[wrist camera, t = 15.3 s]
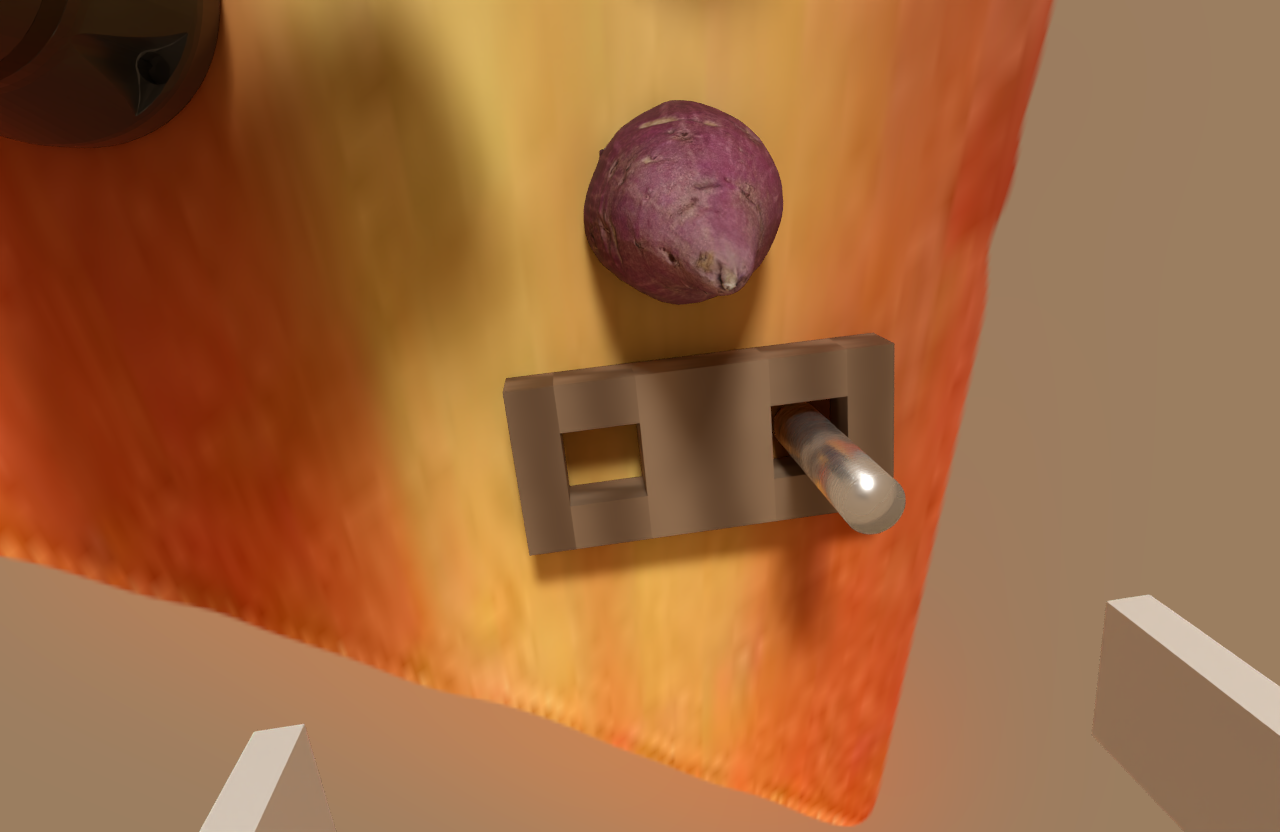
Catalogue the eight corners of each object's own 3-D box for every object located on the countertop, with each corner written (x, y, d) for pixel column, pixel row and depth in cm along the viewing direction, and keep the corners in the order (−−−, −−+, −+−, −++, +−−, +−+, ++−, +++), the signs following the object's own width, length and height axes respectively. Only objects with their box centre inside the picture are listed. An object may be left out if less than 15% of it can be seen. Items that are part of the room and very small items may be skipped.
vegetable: (738, 279, 46) (844, 406, 34) (572, 277, 44) (623, 411, 32) (771, 98, 41) (912, 171, 29) (584, 84, 38) (651, 156, 26)
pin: (773, 450, 47) (843, 538, 35) (771, 404, 46) (842, 480, 34) (820, 443, 47) (905, 529, 35) (819, 398, 46) (905, 471, 35)
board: (531, 532, 47) (529, 555, 44) (506, 378, 43) (502, 392, 41) (873, 485, 48) (893, 504, 45) (873, 332, 45) (894, 343, 42)
